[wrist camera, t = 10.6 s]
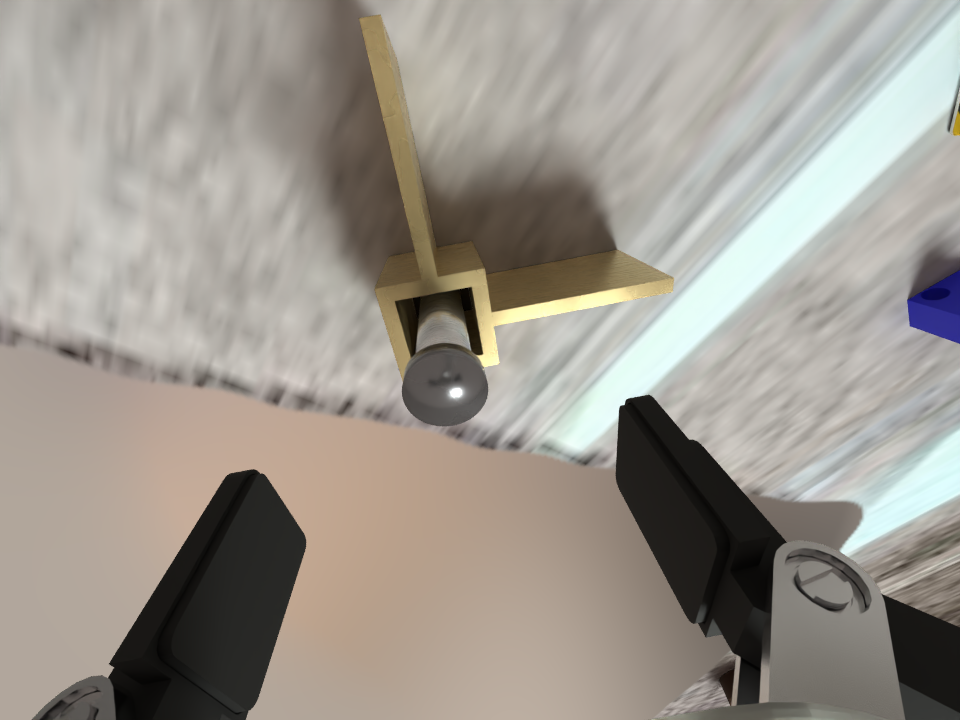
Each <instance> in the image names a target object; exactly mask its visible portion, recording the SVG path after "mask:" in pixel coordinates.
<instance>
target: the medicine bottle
mask: <svg viewBox="0 0 960 720" xmlns="http://www.w3.org/2000/svg"><path fill="white" fill-rule="evenodd" d="M950 134H951V135H954V136H956V135H960V89H959V93H958V97H957V102H956V106H955V110H954V114H953V119H952V123H951V127H950Z"/></svg>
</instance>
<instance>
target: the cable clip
mask: <svg viewBox="0 0 960 720" xmlns="http://www.w3.org/2000/svg"><path fill="white" fill-rule="evenodd" d="M907 302H908V312H909V322H910V326H911V327H914V328H917V329H920V330H923V331H925V332H928V333H931V334H934V335H937V336H939V337H942V338H945V339H948V340H951V341H954V342H956V343H959V344H960V270H959V271H957V272H956V273H954V274H952V275H950V276H949V277H947V278H945V279H943V280H942V281H940V282H938V283H936V284H935V285H933V286H931V287H929V288H928V289H926V290H924V291H922V292H921V293H919V294H917V295H915V296H914V297H912V298H910V299H908V300H907Z"/></svg>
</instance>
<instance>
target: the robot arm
mask: <svg viewBox="0 0 960 720" xmlns="http://www.w3.org/2000/svg"><path fill="white" fill-rule="evenodd" d="M616 481H617V485H618V487H619V490H620V492H621V494H622V495H623V497H624V499H625V501H626V503H627V505H628V507H629V509H630V511H631V513H632V514H633V516H634V518H635V520H636V522H637V524H638V526H639V528H640V530H641V531H642V533H643V535H644V537H645V539H646V541H647V543H648V544H649V546H650V549H651V550H652V552H653V554H654V556H655V558H656V560H657V562H658V564H659V566H660V567H661V569H662V571H663V573H664V575H665V577H666V579H667V581H668V583H669V585H670V586H671V588H672V590H673V592H674V594H675V596H676V598H677V600H678V602H679V603H680V605H681V607H682V609H683V611H684V613H685V615H686V616H687V618H688V619H689V621H690V622H691V623H693V624H695V623H698V624H699V626H700V628H701V630H702V631H703V633H704V635H705V637H711V636H717V635H723V636H724V638H725V640H726V642H727V643H728V645H729V647H730V648H731V650H732V652H733V653H734V654H736V662H735V673H734V683H733V693H732V704H731V706H728V707H721V708H715V709H709V710H703V711H697V712H691V713H685V714H679V715H674V716H668V717H662V718H656V719H650V720H960V627H957V626H955V625H953V624H950V623H948V622H946V621H943V620H941V619H939V618H936V617H934V616H932V615H929V614H927V613H925V612H922V611H920V610H918V609H915V608H913V607H911V606H908V605H906V604H904V603H901V602H899V601H897V600H894V599H892V598H890V597H887V596H885V595H883V594H881V591H880V589H879V587H878V586H877V584H876V583H875V582H874V580H873V579H872V578H871V576H870V575H869V574H868V573H867V572H866V571H865V570H864V569H862V568H861V567H860V566H859V565H858V564H857V563H856V562H854V561H853V560H851V559H850V558H848V557H847V556H845V555H844V554H842V553H841V552H839V551H836V550H834V549H832V548H830V547H827V546H825V545H822V544H818V543H814V542H810V541H792V542H789V543H787V542H786V541H785V540H784V539H783V538H782V536H781V535H780V534H779V533H778V532H777V530H776V529H775V528H774V527H773V526H772V525H771V524H770V522H769V521H767V519H766V518H765V517H764V516H763V515H762V513H761V512H760V511H759V510H758V509H757V508H756V507H755V505H754V504H753V503H752V502H751V501H750V500H749V498H748V497H747V496H746V495H745V494H744V493H743V492H742V490H741V489H740V488H739V487H738V486H737V485H736V484H735V482H734V481H733V480H732V479H731V478H730V477H729V476H728V474H727V473H726V472H725V471H724V470H723V469H722V468H721V466H720V465H719V464H718V463H717V462H716V461H715V460H714V458H713V457H712V456H711V455H710V454H709V453H708V452H707V450H706V449H705V448H704V447H703V446H702V445H701V444H700V443H699V442H697V441H695V440H689V439H688V438H687V437H686V436H685V434H684V433H683V432H682V431H681V430H680V429H679V427H678V426H677V425H676V424H675V423H674V421H673V420H672V419H671V418H670V417H669V416H668V414H667V413H666V412H665V411H664V410H663V408H662V407H661V406H660V405H659V404H658V403H657V401H656V400H655V399H654V398H653V397H652V396H650V395H645V396H640V397H634V398H629V399H627V400H626V401H625V405H622V406H620V408H619V422H618V441H617V460H616ZM305 549H306V538H305V535H304V533H303V532H302V530H301V529H300V527H299V526H298V524H297V522H296V521H295V519H294V518H293V516H292V515H291V513H290V512H289V510H288V509H287V507H286V506H285V504H284V503H283V501H282V500H281V498H280V497H279V495H278V494H277V492H276V490H275V489H274V487H273V486H272V484H271V483H270V482H269V480H268V479H267V477H266V476H265V475H264V474H260V473H259V472H258V471H257V470H254V469H253V470H247V471H242V472H236V473H231V474H229V475H227V476H226V477H225V479H224V480H223V482H222V483H221V485H220V487H219V488H218V490H217V491H216V493H215V495H214V496H213V498H212V499H211V501H210V503H209V505H208V506H207V507H206V509H205V511H204V512H203V514H202V515H201V517H200V519H199V520H198V522H197V523H196V525H195V527H194V528H193V530H192V531H191V533H190V535H189V536H188V538H187V540H186V541H185V543H184V544H183V546H182V547H181V549H180V551H179V552H178V554H177V556H176V557H175V559H174V561H173V562H172V564H171V565H170V567H169V568H168V570H167V572H166V573H165V575H164V576H163V578H162V580H161V581H160V583H159V584H158V586H157V588H156V589H155V591H154V593H153V594H152V596H151V597H150V599H149V600H148V602H147V604H146V605H145V607H144V608H143V610H142V612H141V613H140V615H139V616H138V618H137V620H136V621H135V623H134V625H133V626H132V628H131V629H130V631H129V632H128V634H127V636H126V637H125V639H124V641H123V642H122V644H121V645H120V647H119V649H118V650H117V652H116V653H115V655H114V657H113V658H112V660H111V661H110V663H109V664H110V665H111V666H113V667H114V669H113V671H112V672H111V674H110V676H109V677H108V678H106V677H104V676H102V675H101V676H91V677H88V678H86V679H84V680H82V681H79V682H76V683H75V684H74V685H72V686H70V687H69V688H67V689H65V690H64V691H62V692H61V693H60V694H59V695H57V696H56V697H55V698H54V699H52V700H51V701H50V702H49V703H48V704H46V705H45V706H44V707H43V708H42V709H41V710H40V711H39V712H38V714H37V715H36V716H35V717H34V718H33V719H32V720H246V717H247V714H248V711H249V710H251V708H253V707H254V705H255V703H256V702H257V699H258V697H259V694H260V691H261V688H262V684H263V681H264V678H265V675H266V672H267V669H268V666H269V662H270V659H271V656H272V653H273V650H274V647H275V643H276V640H277V637H278V634H279V630H280V628H281V624H282V621H283V618H284V615H285V612H286V609H287V606H288V603H289V599H290V596H291V593H292V590H293V586H294V584H295V580H296V577H297V574H298V571H299V568H300V565H301V562H302V558H303V555H304V552H305Z"/></svg>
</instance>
